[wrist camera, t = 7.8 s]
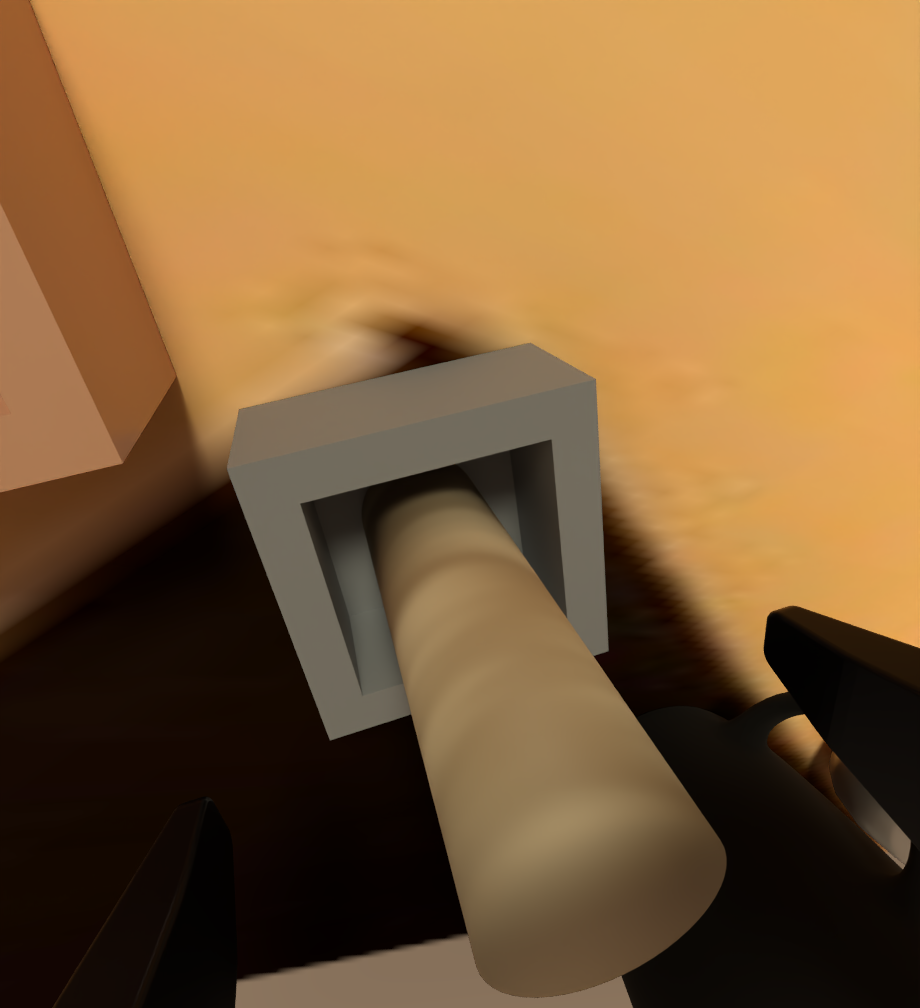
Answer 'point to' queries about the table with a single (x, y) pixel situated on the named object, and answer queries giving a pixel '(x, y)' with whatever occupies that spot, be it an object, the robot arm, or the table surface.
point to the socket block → (403, 452)
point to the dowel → (530, 754)
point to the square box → (63, 286)
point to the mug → (780, 883)
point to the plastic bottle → (868, 811)
